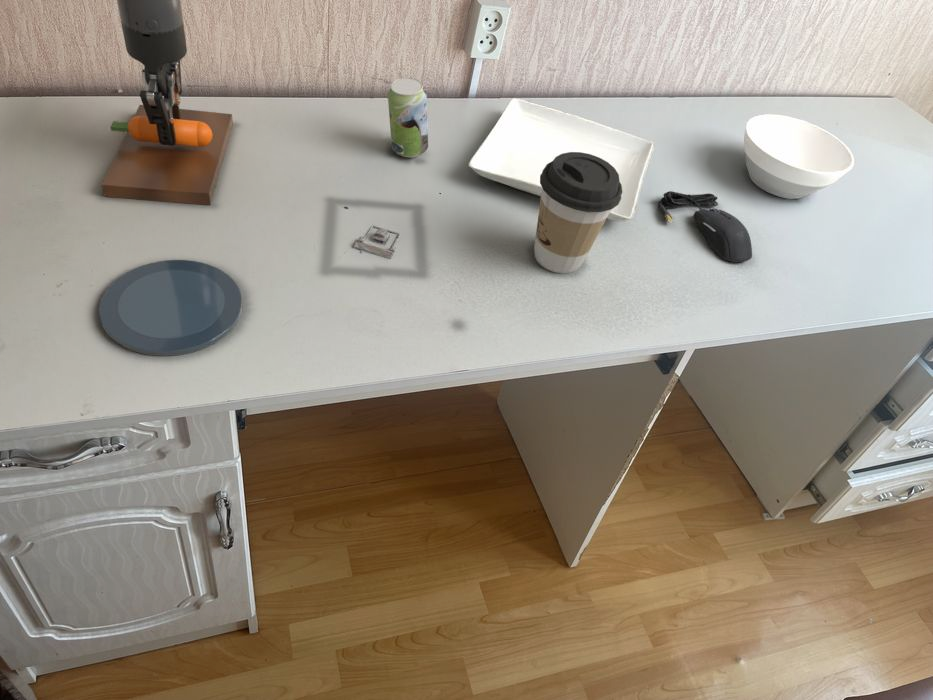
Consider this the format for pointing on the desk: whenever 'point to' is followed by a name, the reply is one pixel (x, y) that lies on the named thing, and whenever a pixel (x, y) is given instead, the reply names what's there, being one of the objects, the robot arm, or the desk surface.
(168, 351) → the slate plate
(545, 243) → the coffee cup
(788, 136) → the bowl
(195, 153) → the cutting board
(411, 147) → the beverage can
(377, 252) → the metal mounting bracket
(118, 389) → the desk surface
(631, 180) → the square plate
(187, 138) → the carrot
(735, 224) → the computer mouse
